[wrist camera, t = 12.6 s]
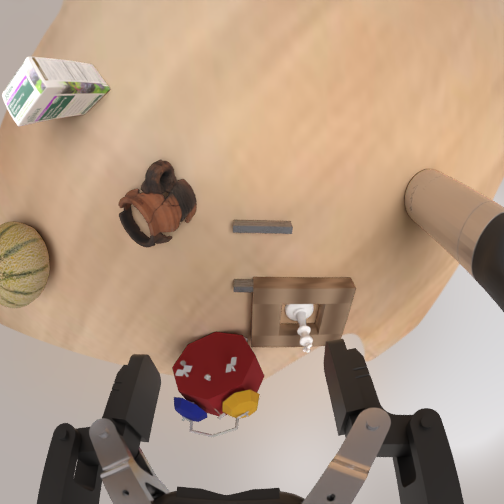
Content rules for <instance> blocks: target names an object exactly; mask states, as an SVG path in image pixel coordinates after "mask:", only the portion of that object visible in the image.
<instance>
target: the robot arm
mask: <svg viewBox="0 0 504 504" xmlns="http://www.w3.org/2000/svg"><path fill="white" fill-rule="evenodd" d="M405 207H406V211H407V213H408V215H409V216H410V218H411V219H412V220H413V221H415V222H416V223H417V224H418V225H419V226H420V227H421V228H423V229H424V230H425V231H426V232H427V233H428V234H429V235H430V236H431V237H432V238H434V239H435V240H436V241H437V242H438V243H439V244H440V245H441V246H442V247H443V248H444V249H445V250H446V251H447V252H448V253H449V254H451V255H452V256H453V257H454V258H455V259H456V260H457V261H458V262H459V263H460V264H461V265H462V266H463V267H464V268H465V269H466V270H467V271H468V272H469V273H470V274H471V275H472V276H473V278H474V279H475V280H476V281H477V282H478V283H479V284H480V285H481V286H482V287H483V288H484V289H485V291H486V292H487V293H488V294H489V295H490V296H491V297H492V298H493V300H494V301H495V302H496V303H497V304H498V306H499V307H500V308H501V309H502V310H503V312H504V207H502V206H501V205H499V204H498V203H496V202H494V201H493V200H491V199H489V198H488V197H486V196H484V195H482V194H481V193H479V192H477V191H475V190H474V189H472V188H470V187H468V186H466V185H464V184H463V183H461V182H459V181H457V180H455V179H453V178H451V177H449V176H447V175H445V174H443V173H441V172H439V171H437V170H434V169H426V170H423V171H421V172H419V173H418V174H416V175H415V176H414V177H413V179H412V180H411V181H410V183H409V185H408V187H407V190H406V194H405ZM324 372H325V377H326V381H327V385H328V389H329V394H330V399H331V403H332V408H333V412H334V417H335V421H336V426H337V431H338V435H344V434H345V437H346V439H345V441H344V442H343V444H342V446H341V448H340V449H339V451H338V453H337V454H336V456H335V457H334V459H333V460H332V461H331V462H330V464H329V465H328V467H327V469H326V470H325V471H324V473H323V475H322V476H321V477H320V479H319V480H318V482H317V483H316V485H315V486H314V488H313V489H312V491H311V492H310V493H309V495H308V496H307V497H306V499H304V498H302V497H300V496H297V495H295V494H292V493H287V492H281V491H280V489H279V488H272V489H253V490H249V491H245V492H241V493H236V494H232V495H222V494H218V493H214V492H211V491H207V490H204V489H198V488H186V487H177V491H174V492H169V490H168V489H167V488H166V486H165V485H164V484H163V483H162V482H161V481H160V480H159V479H158V477H157V476H156V474H155V473H154V471H153V469H152V468H151V466H150V464H149V463H148V461H147V459H146V457H145V456H144V454H143V452H142V450H141V449H140V447H139V445H140V441H142V442H149V437H150V432H151V427H152V422H153V418H154V413H155V408H156V404H157V399H158V395H159V390H160V385H161V378H160V374H159V372H158V370H157V369H156V367H155V365H154V363H153V362H152V360H151V358H150V356H149V355H138V354H134V355H132V356H131V358H130V360H129V363H128V365H124V366H123V367H122V368H121V369H120V371H119V372H118V373H117V376H116V379H115V384H113V387H112V391H111V393H110V396H109V399H108V402H107V405H106V408H105V411H104V414H103V417H102V419H98V420H96V421H95V422H94V423H93V424H92V425H91V427H86V428H78V429H75V428H74V427H73V426H72V425H70V424H68V423H63V424H60V425H59V426H58V427H57V428H56V429H55V431H54V433H53V437H52V441H51V444H50V447H49V451H48V455H47V458H46V463H45V467H44V471H43V475H42V480H41V484H40V489H39V494H38V500H37V504H99V498H100V490H101V484H102V481H103V484H104V486H105V488H106V490H107V492H108V494H109V496H110V498H111V500H112V502H113V504H351V503H352V502H353V500H354V498H355V497H356V495H357V493H358V492H359V490H360V488H361V487H362V485H363V483H364V481H365V480H366V478H367V476H368V473H369V470H370V467H371V466H372V463H373V462H374V460H375V458H376V457H393V462H394V467H395V472H396V478H397V484H398V490H399V496H400V502H401V504H464V503H463V498H462V493H461V488H460V483H459V480H458V475H457V471H456V467H455V464H454V460H453V456H452V453H451V449H450V446H449V442H448V439H447V436H446V432H445V429H444V426H443V423H442V420H441V418H440V415H439V414H438V413H437V412H436V411H434V410H432V409H428V408H425V409H421V410H418V411H417V412H416V413H415V414H414V415H393V414H390V413H388V412H387V411H385V410H384V409H383V408H382V406H381V405H380V403H379V400H378V397H377V394H376V391H375V388H374V385H373V382H372V379H371V377H370V375H369V371H368V368H367V365H366V363H365V360H364V357H363V356H362V355H361V354H360V352H358V351H357V349H356V348H354V349H349V350H347V349H346V345H345V342H344V340H343V339H337V340H331V341H326V343H325V355H324ZM77 460H78V461H77ZM76 462H77V466H76ZM75 467H76V470H75ZM74 472H75V475H74Z"/></svg>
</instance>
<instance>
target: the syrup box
mask: <svg viewBox="0 0 504 504" xmlns="http://www.w3.org/2000/svg"><path fill="white" fill-rule="evenodd" d="M109 90H110V88H109V86H108V85H107V84H106V82H105V81H104V80H103V78H102V77H101V76H100V74H99V73H98V72H97V70H96V69H95V68H94V66H93V65H92V64H88V63H82V62H75V61H69V60H60V59H51V58H41V57H27V58H26V59H25V61H24V63H23V65H22V66H21V67H20V68H19V70H18V71H17V72H16V74H15V75H14V76H13V78H12V79H11V81H10V83H9V84H8V86H7V87H6V89H5V90H4V92H3V94H2V98H3V100H4V103H5V105H6V107H7V109H8V111H9V113H10V115H11V116H12V118H13V120H14V121H15V123H16V124H17V125H18V126H23V125H28V124H32V123H37V122H42V121H47V120H52V119H57V118H63V117H70V116H77V115H84V114H86V113H87V111H88V110H89V109H90V108H91V107H93V106H94V105H95V104H96V102H97V101H99V100H100V99H101V98H102V97H103V96H104V95H105V94H106V93H107V92H108V91H109Z"/></svg>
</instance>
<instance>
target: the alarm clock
mask: <svg viewBox="0 0 504 504" xmlns="http://www.w3.org/2000/svg"><path fill="white" fill-rule="evenodd" d="M247 340H248V339H247V338H246V337H244V336H243V335H236V334H228V333H220V332H214V333H212V334H210V335H208V336H205V337H203V338H201V339H199V340H197V341H195V342H192V343H190V344H188V345H187V347H186V348H185V350H184V351H183V352H182V354H181V355H180V357H179V358H178V360H177V361H176V363H175V364H174V366H173V367H172V368H173V372H174V376H175V380H176V384H177V387H178V390H179V392H180V393H181V394H182V396H183V397H184V398H185V399H186V400H185V399H183V398H176V397H174V406H175V410H176V411H177V412H178V413H180V414H181V415H182V417H183V419H182V421H184V420H185V419H186V420H187V421H189V422H190V432H193V433H197V434H201V435H205V436H209V437H215V436H218V435H221V434H224V433H228V432H231V431H234V430H236V429H238V422H239V418H244V417H248V416H250V415H251V414H252V413H254V412H255V411H256V410H257V406H258V400H259V394H258V393H257V391H258V389H259V387H260V385H261V383H262V380H263V378H264V374H263V372H262V370H261V367H260V365H259V363H258V361H257V358H256V356H255V354H254V353H253V351H252V350H251V348H250V346H249V345H248V343H247ZM207 413H210V414H213V415H216V416H218V418H219V419H221V418H222V417H224V416H225V415H227V414H228V415H230V416H232V417H235V418H236V424H235V428H232V429H229V430H226V431H223V432H220V433H217V434H213V435H212V434H207V433H202V432H199V431H194V430H192V425H193V421H197V422H199V421H201V420H203V419H205V418H207Z"/></svg>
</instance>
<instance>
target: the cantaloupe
mask: <svg viewBox="0 0 504 504" xmlns="http://www.w3.org/2000/svg"><path fill="white" fill-rule="evenodd" d="M49 270H50V266H49V255H48V251H47V247H46V245H45V243H44V241H43V240H42V237H41V236H40V235H39V234H38V232H37V231H36V230H35V229H34V228H32V227H30V226H28V225H25V224H24V223H20V222H7V223H4V224H2V225H0V304H1V305H3V306H5V307H9V308H20V307H24V306H26V305H28V304H30V303H31V302H32V301H34V300H35V299H36V298H37V297H38V296H39V295H40V294H41V292H42V291H43V290H44V288H45V285H46V283H47V279H48V276H49Z"/></svg>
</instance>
